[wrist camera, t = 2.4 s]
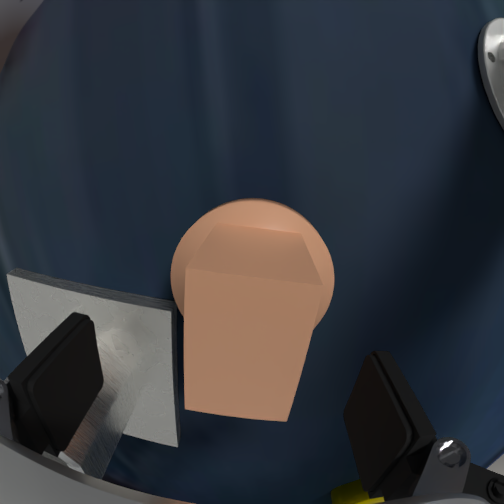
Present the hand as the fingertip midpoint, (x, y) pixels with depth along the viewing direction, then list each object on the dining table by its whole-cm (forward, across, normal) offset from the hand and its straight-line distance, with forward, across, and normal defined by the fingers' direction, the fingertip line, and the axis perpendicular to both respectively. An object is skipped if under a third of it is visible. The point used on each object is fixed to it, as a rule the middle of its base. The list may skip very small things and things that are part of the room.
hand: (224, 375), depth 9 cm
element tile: (+12, -24, +31) cm, 41 cm away
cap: (+11, -1, -1) cm, 11 cm away
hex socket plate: (+11, +12, +11) cm, 20 cm away
